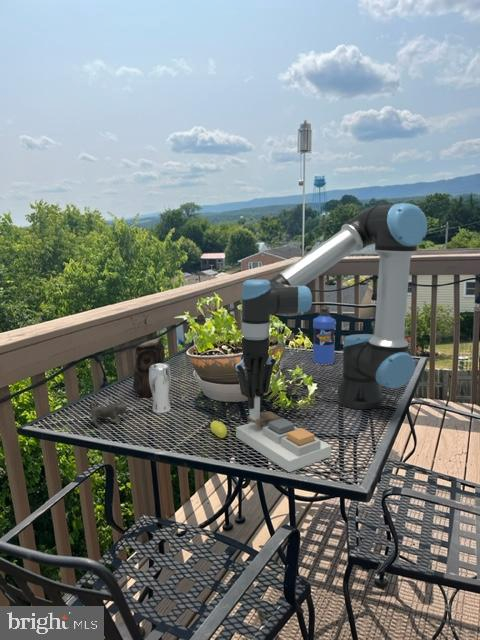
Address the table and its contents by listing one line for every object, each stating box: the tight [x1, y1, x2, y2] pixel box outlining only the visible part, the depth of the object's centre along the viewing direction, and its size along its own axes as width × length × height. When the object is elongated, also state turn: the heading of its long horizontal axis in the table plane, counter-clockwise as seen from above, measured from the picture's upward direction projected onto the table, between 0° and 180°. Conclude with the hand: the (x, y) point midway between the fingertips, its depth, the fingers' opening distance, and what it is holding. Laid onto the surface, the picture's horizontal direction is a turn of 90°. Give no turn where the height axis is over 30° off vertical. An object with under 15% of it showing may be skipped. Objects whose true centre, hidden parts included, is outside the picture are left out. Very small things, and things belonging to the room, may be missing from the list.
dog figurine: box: [88, 402, 130, 429], centre depth 148 cm, size 12×6×7 cm, turn 111°
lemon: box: [210, 420, 228, 439], centre depth 138 cm, size 4×8×4 cm, turn 21°
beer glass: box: [149, 362, 172, 414], centre depth 156 cm, size 7×7×15 cm
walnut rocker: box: [247, 410, 282, 425], centre depth 136 cm, size 8×5×1 cm, turn 123°
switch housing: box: [235, 421, 332, 473], centre depth 130 cm, size 14×24×5 cm, turn 33°
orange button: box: [287, 427, 316, 446], centre depth 123 cm, size 5×5×2 cm
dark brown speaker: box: [132, 336, 166, 399], centre depth 170 cm, size 13×13×20 cm
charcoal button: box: [268, 417, 295, 435], centre depth 129 cm, size 5×5×2 cm
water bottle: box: [312, 305, 336, 364], centre depth 203 cm, size 9×9×25 cm
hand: (254, 418), depth 134 cm, fingers closed
